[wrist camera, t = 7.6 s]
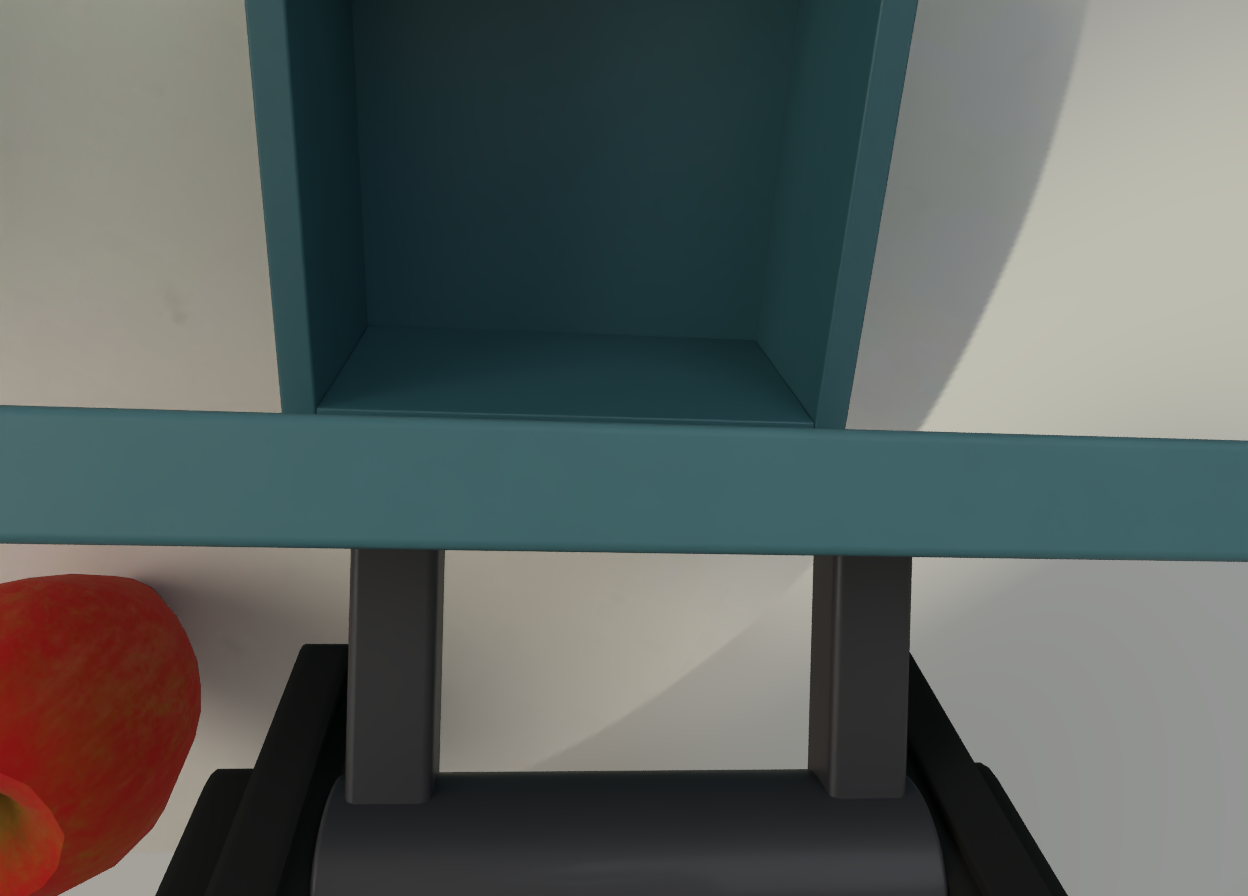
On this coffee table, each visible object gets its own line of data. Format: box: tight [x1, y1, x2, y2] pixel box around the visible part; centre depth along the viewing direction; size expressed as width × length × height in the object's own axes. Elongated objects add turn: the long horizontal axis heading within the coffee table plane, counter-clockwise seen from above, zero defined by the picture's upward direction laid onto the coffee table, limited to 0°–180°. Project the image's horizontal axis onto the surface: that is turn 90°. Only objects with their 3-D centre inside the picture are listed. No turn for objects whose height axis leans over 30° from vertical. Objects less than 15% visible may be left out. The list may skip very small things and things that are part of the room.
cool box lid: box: [0, 405, 1248, 896], centre depth 14 cm, size 16×14×5 cm
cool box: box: [245, 0, 918, 429], centre depth 23 cm, size 16×14×8 cm
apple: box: [0, 574, 201, 896], centre depth 27 cm, size 9×8×11 cm
